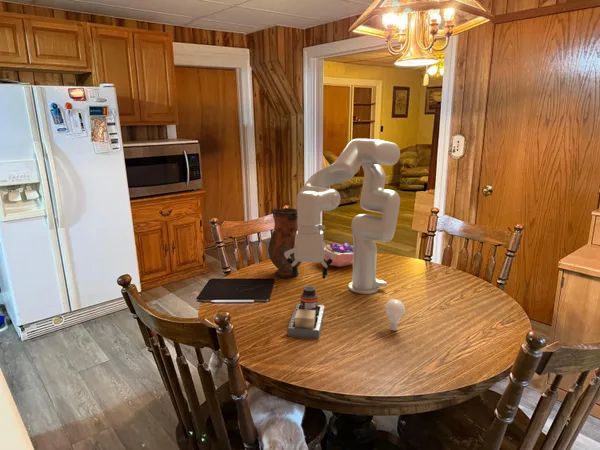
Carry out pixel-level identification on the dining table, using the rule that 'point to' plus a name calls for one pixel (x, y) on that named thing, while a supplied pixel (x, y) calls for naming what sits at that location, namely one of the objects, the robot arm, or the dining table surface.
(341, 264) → the cell model
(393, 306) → the lightbulb
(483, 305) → the dining table surface
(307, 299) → the supplement bottle
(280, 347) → the dining table surface
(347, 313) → the dining table surface
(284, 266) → the pitcher
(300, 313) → the birch block
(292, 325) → the tray
